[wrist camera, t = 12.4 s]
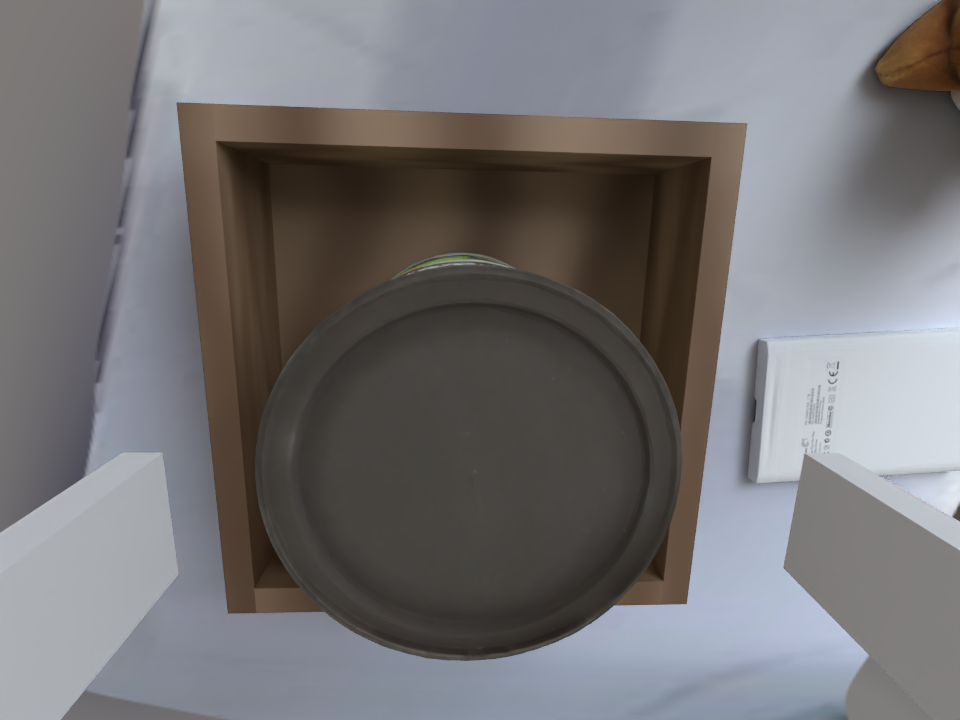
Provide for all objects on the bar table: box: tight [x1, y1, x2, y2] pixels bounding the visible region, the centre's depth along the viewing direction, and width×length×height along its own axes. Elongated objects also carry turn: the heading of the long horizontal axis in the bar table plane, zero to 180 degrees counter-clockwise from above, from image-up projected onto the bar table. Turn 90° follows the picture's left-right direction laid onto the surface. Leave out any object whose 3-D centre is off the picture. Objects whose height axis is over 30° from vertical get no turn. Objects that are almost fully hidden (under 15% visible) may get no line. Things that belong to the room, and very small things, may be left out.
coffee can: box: [255, 253, 682, 661], centre depth 19 cm, size 10×10×14 cm
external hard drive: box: [748, 327, 960, 483], centre depth 29 cm, size 2×8×12 cm
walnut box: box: [177, 103, 747, 613], centre depth 24 cm, size 20×20×6 cm
